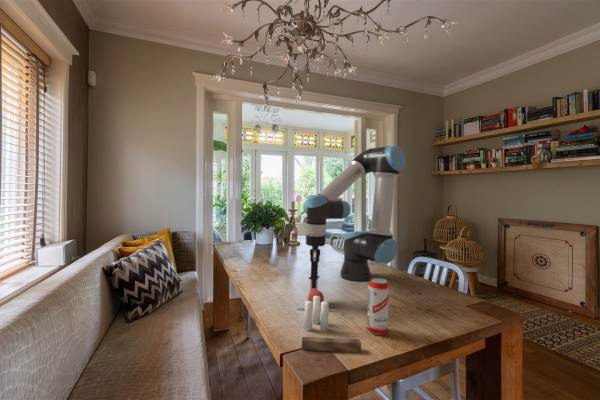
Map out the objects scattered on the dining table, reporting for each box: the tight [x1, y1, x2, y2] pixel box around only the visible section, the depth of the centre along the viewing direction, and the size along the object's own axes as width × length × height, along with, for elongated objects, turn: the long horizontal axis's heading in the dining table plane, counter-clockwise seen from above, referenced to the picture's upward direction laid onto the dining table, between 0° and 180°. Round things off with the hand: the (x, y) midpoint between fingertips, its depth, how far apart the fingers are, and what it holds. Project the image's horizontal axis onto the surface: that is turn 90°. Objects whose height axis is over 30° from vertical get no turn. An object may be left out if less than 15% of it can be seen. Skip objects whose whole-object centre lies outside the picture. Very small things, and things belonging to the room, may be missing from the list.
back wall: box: [301, 336, 362, 353], centre depth 78 cm, size 16×2×2 cm, turn 87°
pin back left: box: [304, 300, 313, 332], centre depth 88 cm, size 2×2×8 cm
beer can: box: [366, 277, 390, 336], centre depth 88 cm, size 6×6×16 cm
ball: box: [307, 289, 325, 306], centre depth 106 cm, size 6×6×6 cm
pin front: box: [312, 296, 321, 325], centre depth 93 cm, size 2×2×8 cm
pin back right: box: [320, 301, 330, 333], centre depth 88 cm, size 2×2×8 cm
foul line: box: [296, 307, 337, 312], centre depth 103 cm, size 14×2×1 cm, turn 87°
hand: (313, 295), depth 110 cm, fingers closed
